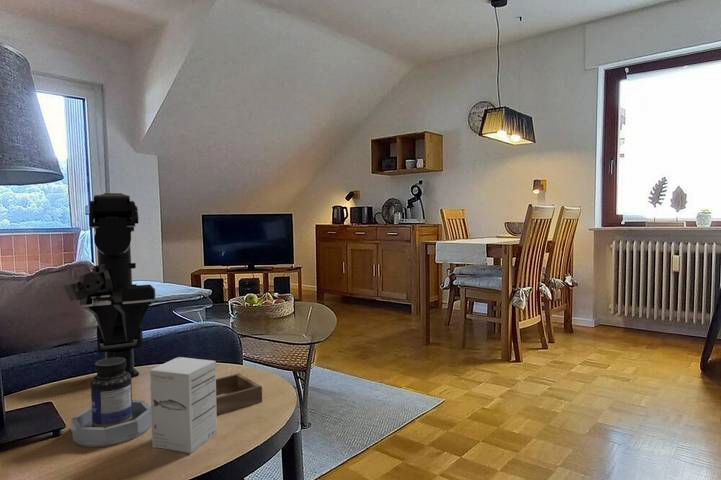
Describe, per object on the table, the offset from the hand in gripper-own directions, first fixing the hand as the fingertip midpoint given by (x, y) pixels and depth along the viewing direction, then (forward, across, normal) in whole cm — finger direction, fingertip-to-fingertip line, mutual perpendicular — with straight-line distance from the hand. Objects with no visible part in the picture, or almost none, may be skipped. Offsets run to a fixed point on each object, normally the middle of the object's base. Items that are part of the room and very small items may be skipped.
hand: (118, 340), depth 91 cm
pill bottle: (+14, +8, -5) cm, 16 cm away
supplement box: (+16, +21, 0) cm, 26 cm away
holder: (+14, +13, +14) cm, 24 cm away
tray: (+14, +8, -5) cm, 17 cm away
